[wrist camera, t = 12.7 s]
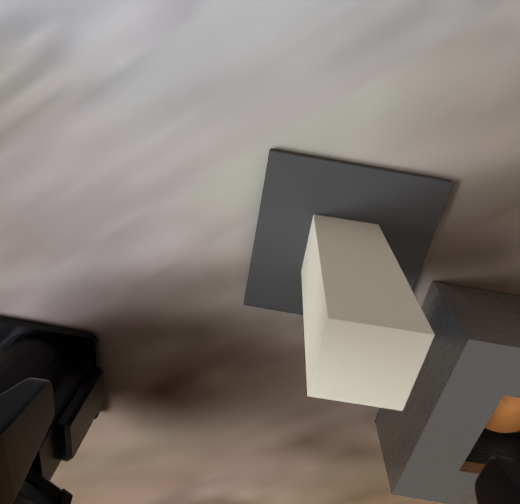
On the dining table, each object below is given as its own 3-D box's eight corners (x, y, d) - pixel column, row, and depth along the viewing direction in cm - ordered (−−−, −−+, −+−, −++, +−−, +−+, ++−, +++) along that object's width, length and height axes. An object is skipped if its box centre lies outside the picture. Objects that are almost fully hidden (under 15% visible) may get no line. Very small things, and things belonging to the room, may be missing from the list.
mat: (244, 300, 21) (243, 304, 21) (269, 148, 18) (269, 150, 17) (394, 326, 21) (395, 330, 21) (450, 180, 18) (453, 182, 17)
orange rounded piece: (451, 397, 23) (465, 426, 21) (475, 350, 21) (492, 377, 19) (511, 407, 23) (530, 437, 21) (539, 361, 21) (562, 389, 19)
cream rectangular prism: (301, 271, 20) (307, 395, 13) (313, 214, 18) (328, 318, 11) (361, 280, 20) (402, 411, 13) (378, 224, 18) (435, 334, 11)
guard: (375, 421, 24) (391, 494, 20) (432, 280, 20) (468, 339, 16) (536, 448, 24) (585, 526, 20) (630, 315, 20) (716, 381, 16)
